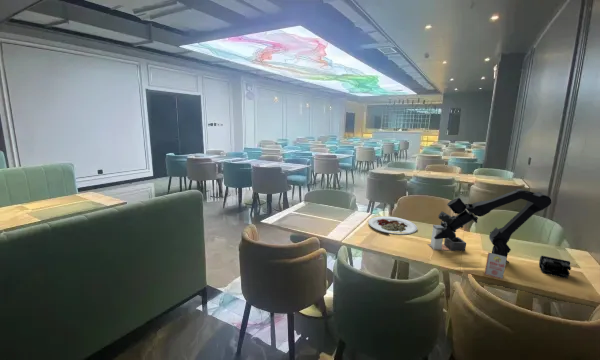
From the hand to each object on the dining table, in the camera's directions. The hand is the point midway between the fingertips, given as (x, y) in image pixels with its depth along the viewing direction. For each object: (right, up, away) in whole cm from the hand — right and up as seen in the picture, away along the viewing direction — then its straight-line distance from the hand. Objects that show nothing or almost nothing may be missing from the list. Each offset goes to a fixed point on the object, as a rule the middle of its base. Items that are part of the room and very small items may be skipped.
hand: (434, 236), depth 151 cm
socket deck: (+7, -7, +1) cm, 10 cm away
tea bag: (+16, -13, -23) cm, 31 cm away
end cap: (+46, -13, -20) cm, 52 cm away
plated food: (-13, 0, +31) cm, 34 cm away
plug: (+1, -6, +1) cm, 6 cm away
